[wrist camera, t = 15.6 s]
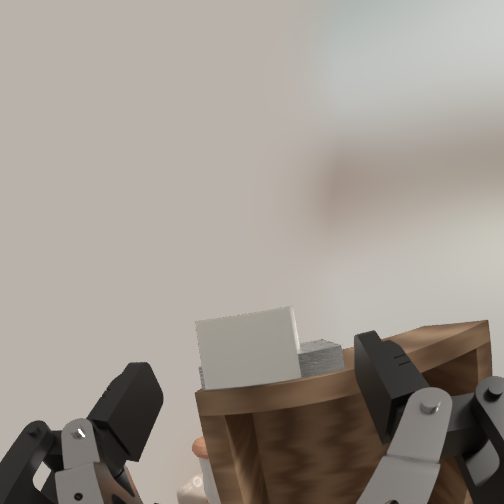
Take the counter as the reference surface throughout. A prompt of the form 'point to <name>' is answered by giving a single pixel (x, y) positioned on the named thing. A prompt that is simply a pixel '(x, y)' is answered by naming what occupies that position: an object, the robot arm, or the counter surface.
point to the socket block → (308, 361)
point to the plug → (249, 349)
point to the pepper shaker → (206, 471)
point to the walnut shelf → (330, 426)
